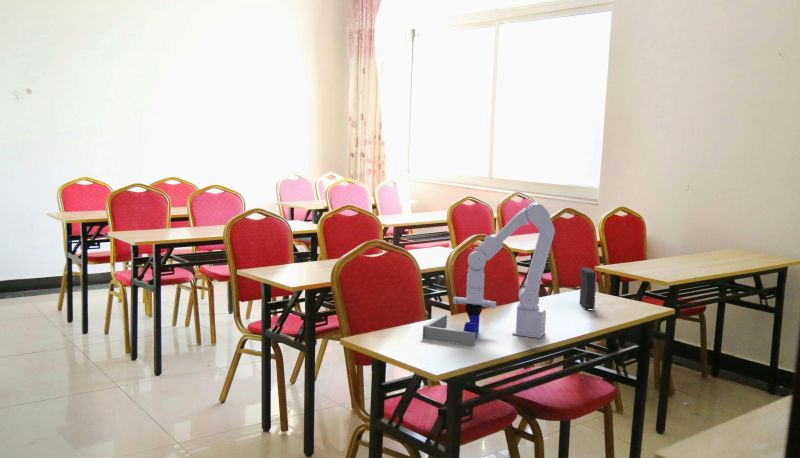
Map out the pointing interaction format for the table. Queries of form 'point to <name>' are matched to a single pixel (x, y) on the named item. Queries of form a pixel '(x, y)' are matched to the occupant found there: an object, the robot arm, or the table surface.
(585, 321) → the table surface
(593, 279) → the dark grey rectangular block
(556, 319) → the table surface
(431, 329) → the corner bracket
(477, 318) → the cable clip
